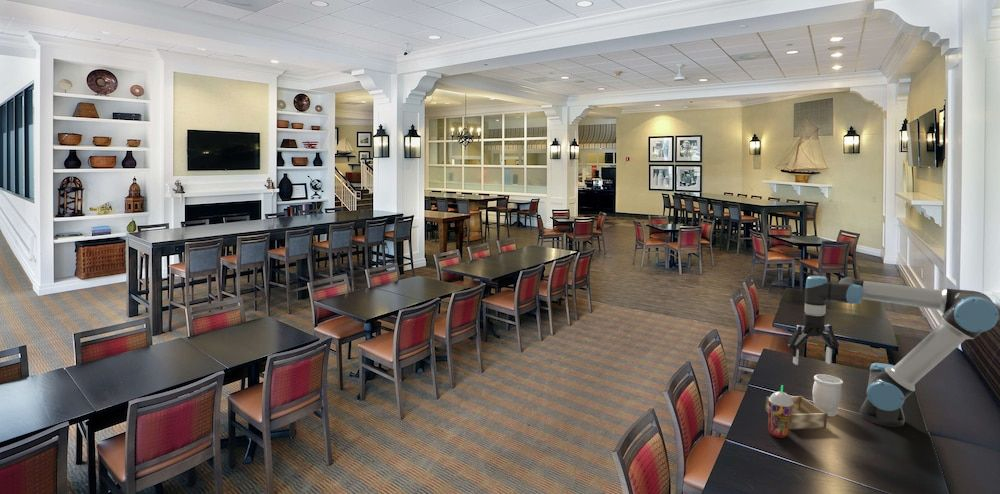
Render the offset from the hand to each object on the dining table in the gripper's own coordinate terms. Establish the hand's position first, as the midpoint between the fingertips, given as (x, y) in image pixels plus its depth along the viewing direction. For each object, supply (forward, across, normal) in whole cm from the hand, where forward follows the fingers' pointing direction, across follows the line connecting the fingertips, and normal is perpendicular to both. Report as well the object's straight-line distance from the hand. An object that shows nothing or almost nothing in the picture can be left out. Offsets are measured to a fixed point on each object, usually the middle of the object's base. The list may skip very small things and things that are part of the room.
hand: (811, 363), depth 225 cm
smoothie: (+22, +22, +18) cm, 36 cm away
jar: (+22, -7, -1) cm, 24 cm away
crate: (+22, +9, +5) cm, 24 cm away
